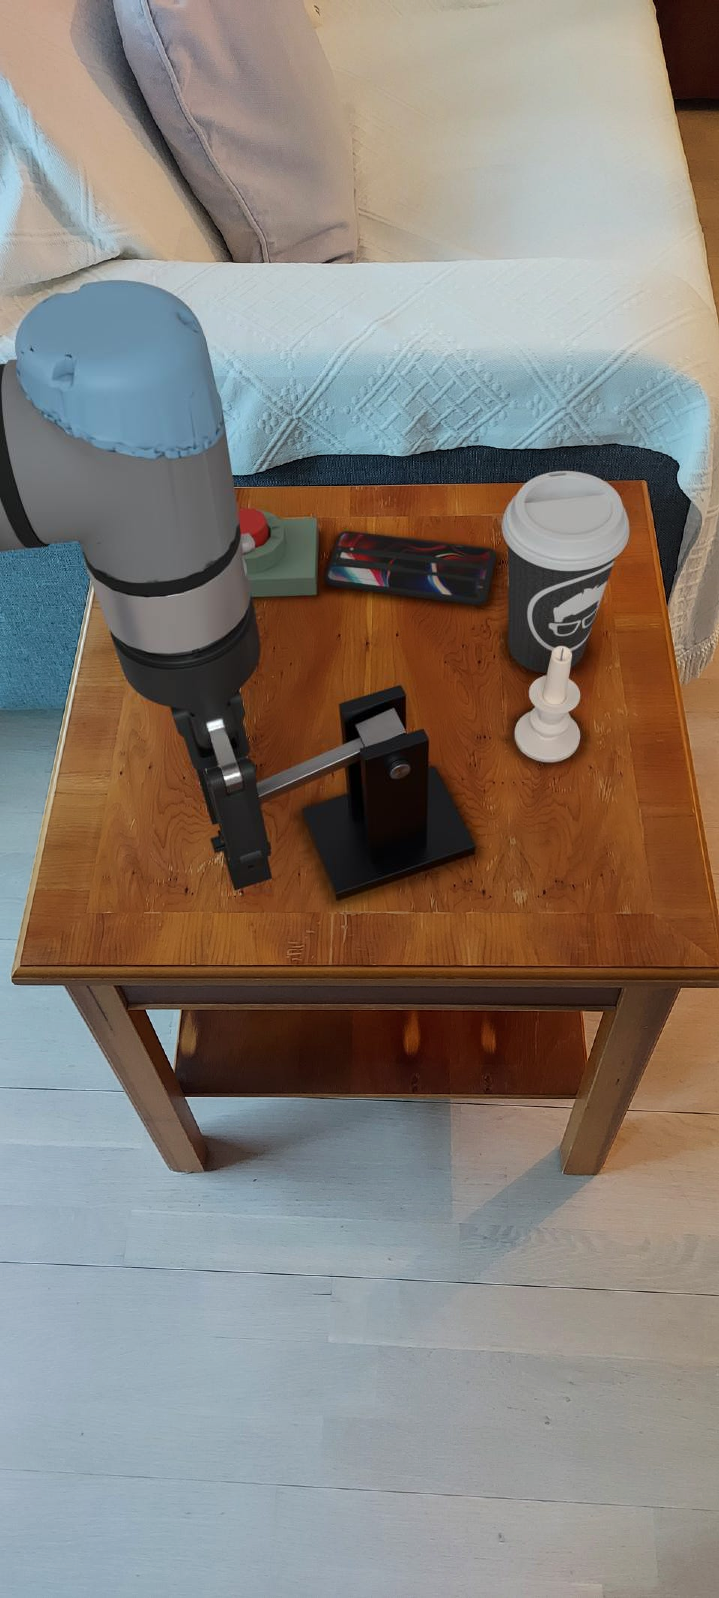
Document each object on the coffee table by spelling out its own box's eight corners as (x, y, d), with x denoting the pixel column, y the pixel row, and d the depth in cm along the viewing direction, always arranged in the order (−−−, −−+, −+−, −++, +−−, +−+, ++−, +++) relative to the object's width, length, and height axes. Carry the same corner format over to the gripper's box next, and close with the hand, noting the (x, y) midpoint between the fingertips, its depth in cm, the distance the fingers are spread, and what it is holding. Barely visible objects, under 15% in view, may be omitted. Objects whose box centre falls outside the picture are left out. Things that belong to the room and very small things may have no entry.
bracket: (336, 901, 73) (322, 794, 62) (302, 816, 77) (283, 701, 66) (475, 854, 75) (486, 741, 63) (434, 773, 79) (438, 654, 68)
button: (227, 550, 89) (224, 535, 88) (230, 524, 91) (227, 508, 90) (267, 549, 89) (265, 534, 88) (269, 522, 91) (267, 507, 90)
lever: (238, 848, 66) (226, 831, 64) (218, 790, 68) (205, 772, 66) (420, 767, 66) (414, 747, 64) (393, 712, 68) (386, 692, 66)
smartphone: (486, 602, 88) (322, 581, 91) (486, 607, 89) (322, 586, 91) (497, 547, 92) (340, 528, 95) (497, 553, 93) (340, 534, 95)
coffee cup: (609, 615, 88) (641, 473, 76) (593, 696, 83) (625, 558, 70) (501, 597, 90) (516, 456, 77) (480, 676, 85) (492, 537, 72)
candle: (577, 766, 79) (598, 679, 70) (511, 759, 80) (523, 671, 71) (581, 715, 82) (600, 625, 73) (516, 708, 82) (529, 618, 74)
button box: (185, 599, 91) (177, 566, 88) (194, 540, 96) (186, 506, 93) (316, 595, 91) (313, 561, 88) (318, 535, 95) (315, 501, 92)
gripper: (304, 713, 47) (332, 938, 66) (205, 483, 57) (254, 737, 76) (148, 760, 46) (223, 975, 65) (74, 517, 55) (158, 766, 75)
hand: (240, 846), depth 70 cm, fingers closed on lever, 5 cm apart
